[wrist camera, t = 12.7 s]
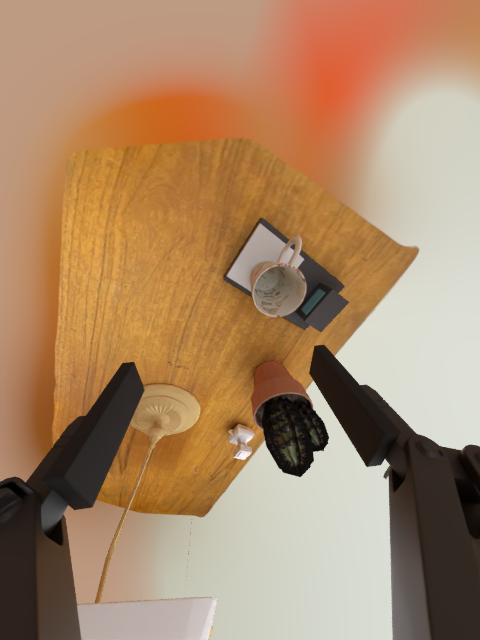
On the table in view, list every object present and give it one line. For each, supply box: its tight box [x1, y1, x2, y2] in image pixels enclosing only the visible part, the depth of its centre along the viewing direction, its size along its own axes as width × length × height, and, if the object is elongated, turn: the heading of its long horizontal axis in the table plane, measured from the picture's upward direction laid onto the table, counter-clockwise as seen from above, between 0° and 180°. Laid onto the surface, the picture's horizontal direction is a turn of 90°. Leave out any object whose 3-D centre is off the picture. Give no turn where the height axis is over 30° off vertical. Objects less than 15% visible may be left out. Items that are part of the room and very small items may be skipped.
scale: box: [223, 218, 349, 332], centre depth 37 cm, size 23×13×7 cm, turn 56°
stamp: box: [227, 424, 255, 460], centre depth 59 cm, size 9×7×8 cm
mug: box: [250, 236, 306, 317], centre depth 31 cm, size 8×13×10 cm, turn 157°
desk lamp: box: [77, 384, 217, 640], centre depth 37 cm, size 31×23×40 cm
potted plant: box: [251, 361, 329, 477], centre depth 42 cm, size 14×14×25 cm
